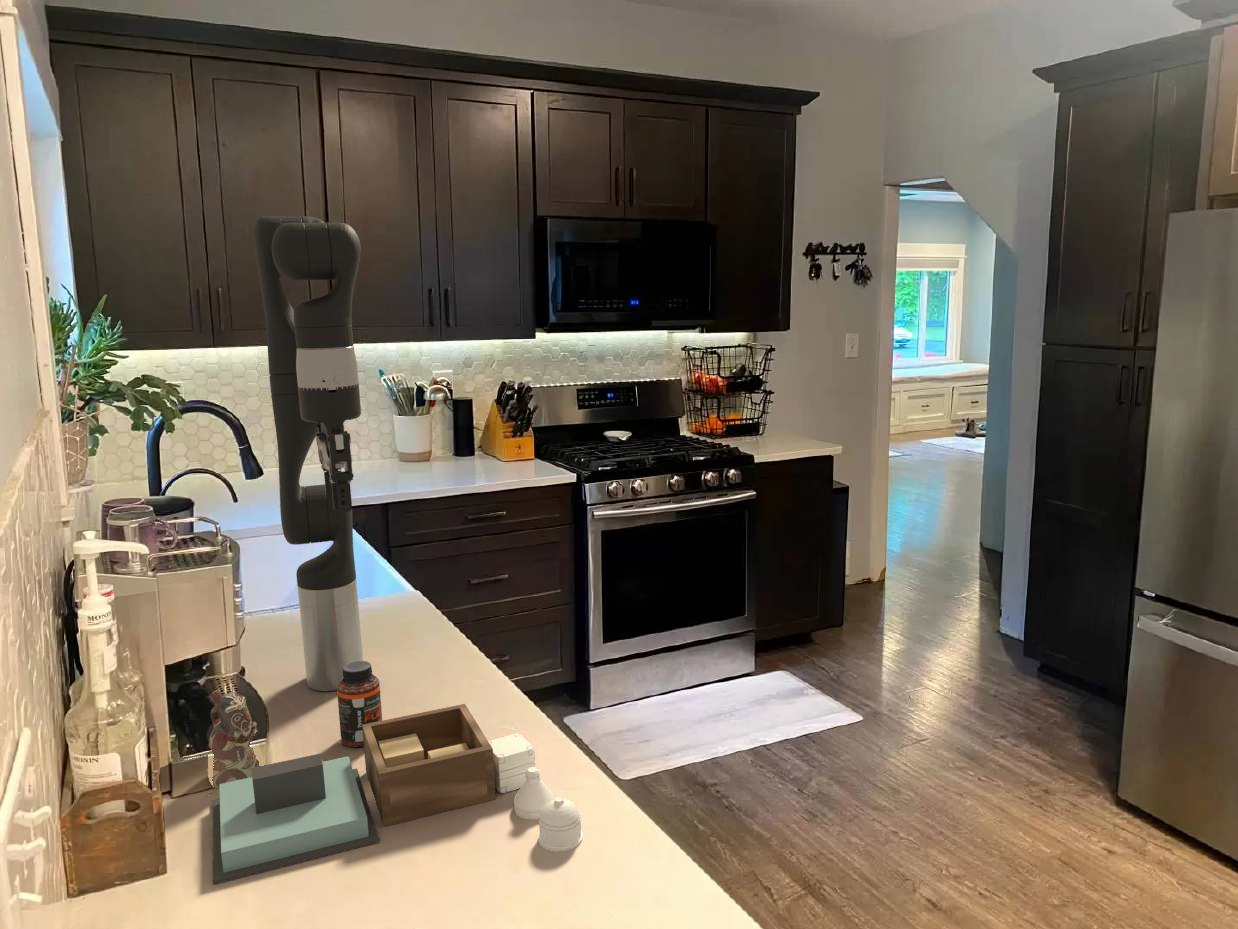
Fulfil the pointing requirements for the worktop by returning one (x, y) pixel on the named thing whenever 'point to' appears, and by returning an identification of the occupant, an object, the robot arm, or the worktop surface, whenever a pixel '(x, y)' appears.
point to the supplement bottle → (357, 701)
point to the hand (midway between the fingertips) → (338, 504)
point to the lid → (289, 811)
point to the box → (427, 764)
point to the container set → (535, 794)
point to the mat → (222, 877)
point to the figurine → (231, 739)
